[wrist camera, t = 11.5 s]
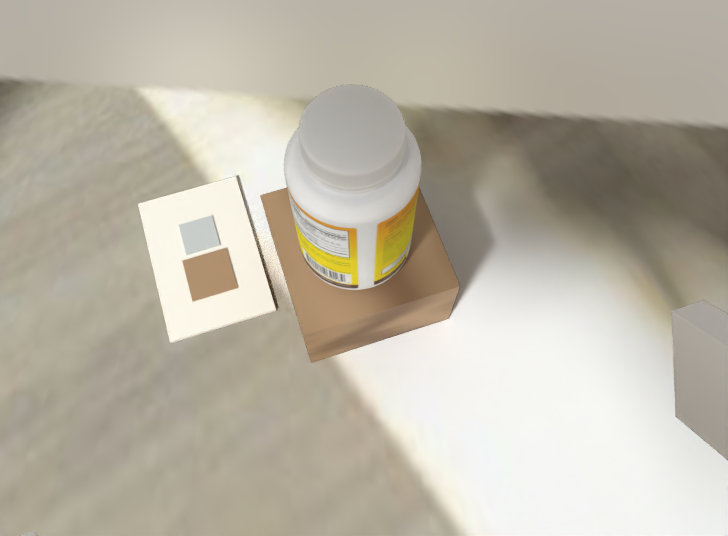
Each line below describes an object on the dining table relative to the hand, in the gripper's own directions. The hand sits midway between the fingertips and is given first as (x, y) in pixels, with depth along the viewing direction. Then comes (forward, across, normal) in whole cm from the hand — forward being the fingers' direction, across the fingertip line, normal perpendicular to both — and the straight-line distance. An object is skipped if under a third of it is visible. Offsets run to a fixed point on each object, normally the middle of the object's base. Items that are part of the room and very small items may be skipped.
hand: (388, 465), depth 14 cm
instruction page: (+28, -4, -4) cm, 28 cm away
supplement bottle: (+21, +4, -4) cm, 22 cm away
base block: (+25, +4, -7) cm, 26 cm away
